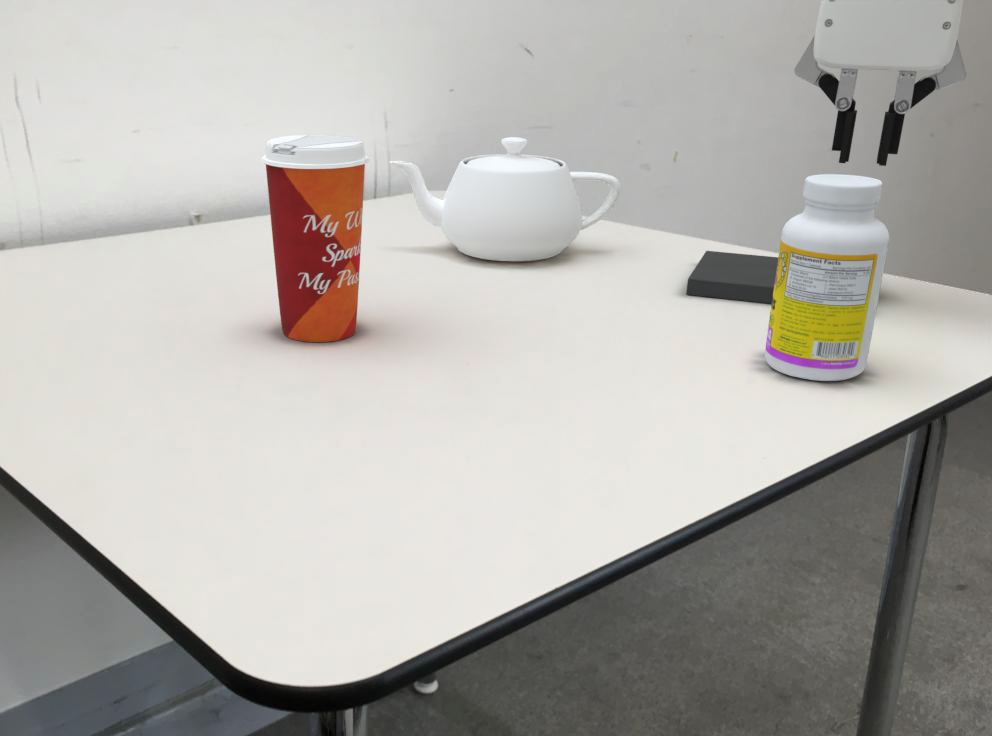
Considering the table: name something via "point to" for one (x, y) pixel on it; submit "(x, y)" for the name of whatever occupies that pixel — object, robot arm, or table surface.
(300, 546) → the table surface
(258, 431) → the table surface
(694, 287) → the scale
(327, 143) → the paper cup
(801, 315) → the supplement bottle
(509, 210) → the teapot
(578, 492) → the table surface
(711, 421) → the table surface
